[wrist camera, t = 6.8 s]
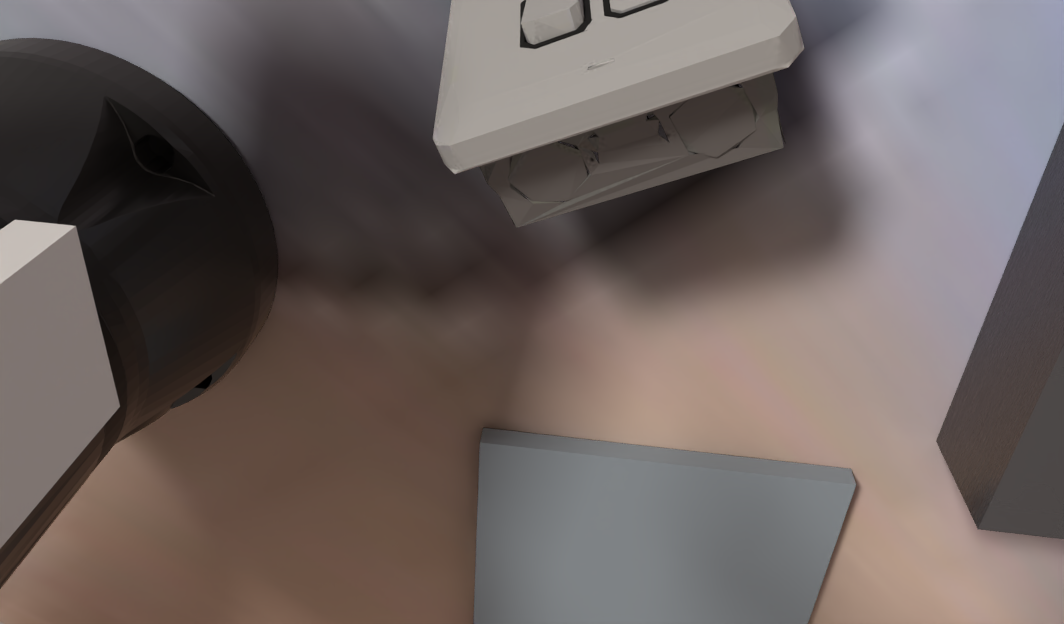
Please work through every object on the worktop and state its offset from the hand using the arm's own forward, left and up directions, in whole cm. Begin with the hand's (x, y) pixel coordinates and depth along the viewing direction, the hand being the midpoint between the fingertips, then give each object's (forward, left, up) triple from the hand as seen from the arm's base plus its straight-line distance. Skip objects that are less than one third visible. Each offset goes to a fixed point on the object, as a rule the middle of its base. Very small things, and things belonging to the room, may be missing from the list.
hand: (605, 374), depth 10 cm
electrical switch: (0, 0, -21) cm, 21 cm away
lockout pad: (+4, -26, -20) cm, 33 cm away
